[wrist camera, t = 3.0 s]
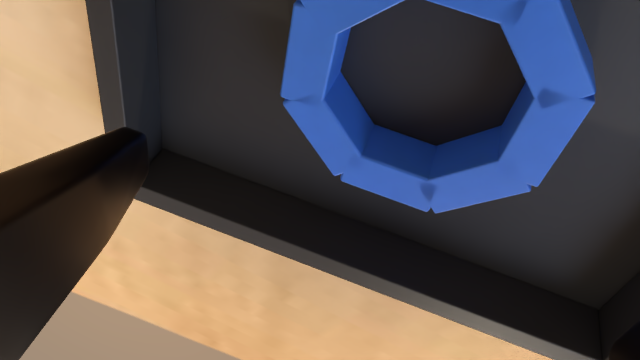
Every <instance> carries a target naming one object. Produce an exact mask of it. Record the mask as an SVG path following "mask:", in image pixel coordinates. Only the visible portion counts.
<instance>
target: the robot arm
mask: <svg viewBox="0 0 640 360" xmlns="http://www.w3.org/2000/svg"><path fill="white" fill-rule="evenodd" d="M148 172H149V152H148V140H147V137H146V135H145V134H144V133H142V132H139V131H137V130H134V129H131V128H128V127H121V128H118V129H116V130H113V131H110V132H108V133H105V134H102V135H100V136H97V137H95V138H92V139H89V140H87V141H84V142H81V143H79V144H76V145H74V146H71V147H68V148H66V149H63V150H60V151H58V152H55V153H53V154H50V155H47V156H45V157H42V158H39V159H37V160H34V161H31V162H29V163H26V164H24V165H21V166H18V167H16V168H13V169H10V170H8V171H5V172H3V173H0V360H19V359H20V358H21V356H22V355H23V354H24V352H25V351H26V350H27V348H28V347H29V346H30V344H31V343H32V342H33V341H34V339H35V338H36V337H37V335H38V334H39V333H40V331H41V330H42V329H43V327H44V326H45V325H46V323H47V322H48V321H49V319H50V318H51V317H52V315H53V314H54V313H55V311H56V310H57V309H58V308H59V306H60V305H61V304H62V302H63V301H64V300H65V298H66V297H67V295H68V294H69V293H70V292H71V291H72V289H73V288H74V287H75V285H76V284H77V283H78V281H79V280H80V279H81V277H82V276H83V275H84V273H85V272H86V271H87V269H88V268H89V267H90V266H91V264H92V263H93V262H94V260H95V259H96V258H97V256H98V255H99V254H100V252H101V251H102V249H103V248H104V247H105V245H106V244H107V242H108V241H109V239H110V238H111V236H112V235H113V233H114V231H115V230H116V228H117V226H118V225H119V223H120V221H121V219H122V218H123V216H124V214H125V213H126V211H127V209H128V208H129V206H130V204H131V203H132V201H133V199H134V197H135V196H136V194H137V192H138V191H139V189H140V187H141V186H142V184H143V182H144V181H145V179H146V177H147V175H148ZM609 360H640V321H638V322H637V323H636V324H634V325H633V326H632V327H631V328H630V329H629V330H627V331H626V332H625V333H624V334H623V335H621V336H620V337H619V338H618V339H617V340H616V341H615V342H614V343H613V345H612V347H611V350H610V354H609Z"/></svg>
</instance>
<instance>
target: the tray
mask: <svg viewBox="0 0 640 360" xmlns="http://www.w3.org/2000/svg"><path fill="white" fill-rule="evenodd" d="M85 1H86V7H87V14H88V21H89V28H90V34H91V41H92V48H93V55H94V61H95V68H96V75H97V82H98V88H99V95H100V102H101V108H102V115H103V122H104V129H105V133H108V132H110V131H113V130H116V129H118V128H121V127H128V128H131V129H134V130H137V131H139V132H142V133H144V134H145V135H146V137H147V140H148V152H149V172H148V175H147V177H146V179H145V181H144V182H143V184H142V186H141V187H140V189H139V191H138V192H137V194H136V196H135V197H134V199H136V200H139V201H141V202H144V203H146V204H149V205H152V206H154V207H157V208H159V209H162V210H165V211H167V212H170V213H173V214H175V215H178V216H180V217H183V218H186V219H188V220H191V221H193V222H196V223H199V224H201V225H204V226H206V227H209V228H212V229H214V230H217V231H219V232H222V233H225V234H227V235H230V236H233V237H235V238H238V239H240V240H243V241H246V242H248V243H251V244H253V245H256V246H259V247H261V248H264V249H266V250H269V251H272V252H274V253H277V254H279V255H282V256H285V257H287V258H290V259H293V260H295V261H298V262H300V263H303V264H306V265H308V266H311V267H313V268H316V269H319V270H321V271H324V272H326V273H329V274H332V275H334V276H337V277H340V278H342V279H345V280H347V281H350V282H353V283H355V284H358V285H360V286H363V287H366V288H368V289H371V290H373V291H376V292H379V293H381V294H384V295H386V296H389V297H392V298H394V299H397V300H400V301H402V302H405V303H407V304H410V305H413V306H415V307H418V308H420V309H423V310H426V311H428V312H431V313H433V314H436V315H439V316H441V317H444V318H446V319H449V320H452V321H454V322H457V323H460V324H462V325H465V326H467V327H470V328H473V329H475V330H478V331H480V332H483V333H486V334H488V335H491V336H493V337H496V338H499V339H501V340H504V341H507V342H509V343H512V344H514V345H517V346H520V347H522V348H525V349H527V350H530V351H533V352H535V353H538V354H540V355H543V356H546V357H548V358H551V359H553V360H609V354H610V350H611V347H612V345H613V343H614V342H615V341H616V340H617V339H618V338H619V337H620V336H621V335H623V334H624V333H625V332H626V331H627V330H629V329H630V328H631V327H632V326H633V325H634V324H636V323H637V322H638V321H640V0H570V1H571V4H572V6H573V9H574V12H575V14H576V17H577V20H578V22H579V25H580V27H581V30H582V33H583V35H584V38H585V40H586V43H587V46H588V48H589V51H590V53H591V56H592V60H593V68H594V76H595V85H596V93H595V94H594V96H595V104H594V105H593V107H592V108H591V110H590V111H589V112H588V114H587V115H586V117H585V118H584V120H583V121H582V123H581V124H580V126H579V127H578V129H577V130H576V132H575V133H574V134H573V136H572V137H571V139H570V140H569V142H568V143H567V145H566V146H565V148H564V149H563V151H562V152H561V154H560V155H559V156H558V158H557V159H556V161H555V162H554V164H553V165H552V167H551V168H550V170H549V171H548V173H547V174H546V176H545V177H544V178H543V180H542V181H541V183H540V184H539V186H538V187H535V186H532V185H531V191H530V192H526V193H521V194H517V195H513V196H509V197H504V198H500V199H496V200H491V201H487V202H483V203H479V204H474V205H470V206H466V207H461V208H457V209H453V210H449V211H444V212H440V213H434V211H433V210H432V208H430V210H429V211H428V212H425V211H422V210H419V209H417V208H414V207H411V206H408V205H406V204H403V203H400V202H397V201H395V200H392V199H389V198H386V197H384V196H381V195H378V194H375V193H373V192H370V191H367V190H364V189H362V188H359V187H356V186H353V185H351V184H348V183H345V182H342V181H341V180H340V176H341V174H340V175H337V176H334V175H333V174H332V173H331V171H330V170H329V169H328V167H327V166H326V164H325V163H324V162H323V160H322V159H321V157H320V156H319V155H318V153H317V152H316V150H315V149H314V148H313V146H312V145H311V143H310V142H309V141H308V139H307V138H306V136H305V135H304V134H303V132H302V131H301V129H300V128H299V127H298V125H297V124H296V122H295V121H294V120H293V118H292V117H291V116H290V114H289V113H288V111H287V110H286V109H285V107H284V106H283V101H284V100H285V98H282V97H281V96H280V90H281V84H282V77H283V70H284V64H285V57H286V50H287V44H288V37H289V30H290V24H291V17H292V10H293V4H294V3H295V2H296V0H85ZM341 73H342V75H343V76H344V78H345V79H346V81H347V82H348V84H349V86H350V87H351V89H352V90H353V92H354V93H355V95H356V97H357V98H358V100H359V101H360V103H361V104H362V106H363V108H364V109H365V111H366V112H367V114H368V115H369V117H370V119H371V120H372V122H373V123H374V124H375V125H378V126H381V127H384V128H386V129H389V130H392V131H395V132H398V133H401V134H404V135H406V136H409V137H412V138H415V139H418V140H421V141H424V142H427V143H429V144H432V145H435V146H438V145H441V144H444V143H447V142H450V141H453V140H457V139H460V138H463V137H466V136H469V135H473V134H476V133H479V132H482V131H485V130H489V129H492V128H495V127H498V126H501V125H502V124H503V122H504V121H505V119H506V117H507V115H508V113H509V111H510V110H511V108H512V106H513V104H514V102H515V100H516V99H517V97H518V95H519V93H520V91H521V89H522V88H523V86H524V84H525V82H526V80H525V78H524V76H523V74H522V71H521V69H520V67H519V65H518V63H517V61H516V58H515V56H514V54H513V52H512V50H511V47H510V45H509V43H508V41H507V39H506V37H505V34H504V32H503V30H502V28H501V26H500V24H499V23H496V22H492V21H489V20H486V19H483V18H480V17H477V16H474V15H471V14H467V13H464V12H461V11H458V10H455V9H452V8H449V7H446V6H442V5H439V4H436V3H433V2H430V1H427V0H404V1H402V2H400V3H398V4H396V5H394V6H392V7H390V8H388V9H386V10H384V11H382V12H380V13H378V14H376V15H374V16H372V17H370V18H369V19H367V20H365V21H363V22H361V23H359V24H357V25H355V26H353V27H351V29H350V33H349V38H348V42H347V46H346V50H345V54H344V58H343V62H342V67H341Z"/></svg>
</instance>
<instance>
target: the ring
mask: <svg viewBox="0 0 640 360" xmlns="http://www.w3.org/2000/svg"><path fill="white" fill-rule="evenodd" d="M402 1H404V0H296V2H295V3H294V4H293V10H292V17H291V24H290V30H289V37H288V44H287V50H286V57H285V64H284V70H283V77H282V84H281V90H280V96H281V97H282V98H285V100H284V101H283V106H284V107H285V109H286V110H287V111H288V113H289V114H290V116H291V117H292V118H293V120H294V121H295V122H296V124H297V125H298V127H299V128H300V129H301V131H302V132H303V134H304V135H305V136H306V138H307V139H308V141H309V142H310V143H311V145H312V146H313V148H314V149H315V150H316V152H317V153H318V155H319V156H320V157H321V159H322V160H323V162H324V163H325V164H326V166H327V167H328V169H329V170H330V171H331V173H332V174H333V175H334V176H337V175H340V174H341V176H340V180H341V181H342V182H345V183H348V184H351V185H353V186H356V187H359V188H362V189H364V190H367V191H370V192H373V193H375V194H378V195H381V196H384V197H386V198H389V199H392V200H395V201H397V202H400V203H403V204H406V205H408V206H411V207H414V208H417V209H419V210H422V211H425V212H428V211H429V210H430V208H432V210H433V211H434V213H440V212H444V211H449V210H453V209H457V208H461V207H466V206H470V205H474V204H479V203H483V202H487V201H491V200H496V199H500V198H504V197H509V196H513V195H517V194H521V193H526V192H530V191H531V185H532V186H535V187H538V186H539V184H540V183H541V181H542V180H543V178H544V177H545V176H546V174H547V173H548V171H549V170H550V168H551V167H552V165H553V164H554V162H555V161H556V159H557V158H558V156H559V155H560V154H561V152H562V151H563V149H564V148H565V146H566V145H567V143H568V142H569V140H570V139H571V137H572V136H573V134H574V133H575V132H576V130H577V129H578V127H579V126H580V124H581V123H582V121H583V120H584V118H585V117H586V115H587V114H588V112H589V111H590V110H591V108H592V107H593V105H594V104H595V96H594V94H595V93H596V85H595V76H594V68H593V60H592V56H591V53H590V51H589V48H588V46H587V43H586V40H585V38H584V35H583V33H582V30H581V27H580V25H579V22H578V20H577V17H576V14H575V12H574V9H573V6H572V4H571V1H570V0H427V1H430V2H433V3H436V4H439V5H442V6H446V7H449V8H452V9H455V10H458V11H461V12H464V13H467V14H471V15H474V16H477V17H480V18H483V19H486V20H489V21H492V22H496V23H499V24H500V26H501V28H502V30H503V32H504V34H505V37H506V39H507V41H508V43H509V45H510V47H511V50H512V52H513V54H514V56H515V58H516V61H517V63H518V65H519V67H520V69H521V71H522V74H523V76H524V78H525V80H526V82H525V84H524V86H523V88H522V89H521V91H520V93H519V95H518V97H517V99H516V100H515V102H514V104H513V106H512V108H511V110H510V111H509V113H508V115H507V117H506V119H505V121H504V122H503V124H502V125H501V126H498V127H495V128H492V129H489V130H485V131H482V132H479V133H476V134H473V135H469V136H466V137H463V138H460V139H457V140H453V141H450V142H447V143H444V144H441V145H438V146H435V145H432V144H429V143H427V142H424V141H421V140H418V139H415V138H412V137H409V136H406V135H404V134H401V133H398V132H395V131H392V130H389V129H386V128H384V127H381V126H378V125H375V124H374V123H373V122H372V120H371V119H370V117H369V115H368V114H367V112H366V111H365V109H364V108H363V106H362V104H361V103H360V101H359V100H358V98H357V97H356V95H355V93H354V92H353V90H352V89H351V87H350V86H349V84H348V82H347V81H346V79H345V78H344V76H343V75H342V73H341V67H342V62H343V58H344V54H345V50H346V46H347V42H348V38H349V33H350V29H351V27H353V26H355V25H357V24H359V23H361V22H363V21H365V20H367V19H369V18H370V17H372V16H374V15H376V14H378V13H380V12H382V11H384V10H386V9H388V8H390V7H392V6H394V5H396V4H398V3H400V2H402Z"/></svg>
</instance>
